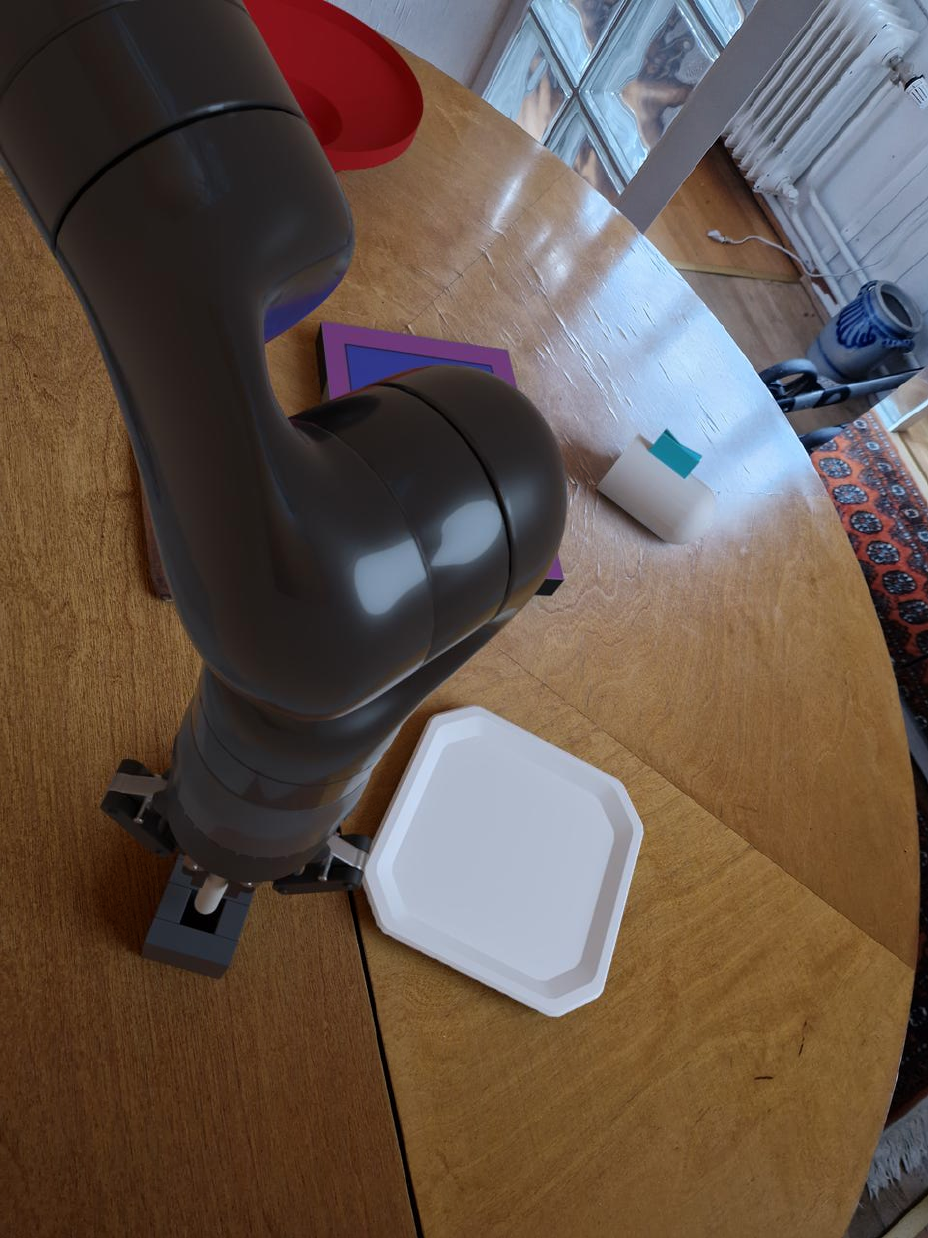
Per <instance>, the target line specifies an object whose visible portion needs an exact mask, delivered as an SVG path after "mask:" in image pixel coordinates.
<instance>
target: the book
mask: <svg viewBox="0 0 928 1238" xmlns="http://www.w3.org/2000/svg"><path fill="white" fill-rule="evenodd" d="M314 344H315V353H316V362H317V372H318V380H319V390H320V401H321V404H322V403H324V402H327V401H329V400H332V399H334V398H337V397H339V396H341V395H344V394H346V393H349V392H351V391H354V390H356V389H358V388H362V387H364V386H366V385H369V384H371V383H373V382H376V381H378V380H381V379H383V378H386V377H388V376H391V375H393V374H396V373H399V372H402V371H405V370H409V369H412V368H417V367H423V366H429V365H436V364H453V365H462V366H469V367H474V368H478V369H482V370H485V371H488V372H490V373H492V374H494V375H497V376H499V377H500V378H502V379H504V380H505V381H507V382H508V383H510V384H511V385H513V386H514V387H515V388H517V389H518V385H517V381H516V377H515V373H514V368H513V366H512V365H513V364H512V361H511V357H510V352H509V350H508V349H503V348H498V347H497V348H496V347H491V346H486V345H479V344H478V345H477V344H472V343H465V342H459V341H453V340H448V339H441V338H440V339H439V338H434V337H428V336H421V335H416V334H408V333H402V332H395V331H389V330H382V329H378V328H377V329H376V328H370V327H365V326H357V325H353V324H352V325H351V324H345V323H338V322H332V321H325V320H320V324H319V327H318V331H317V335H316V338H315V342H314ZM564 581H565V577H564V573H563V569H562V564H561V560H560V556H559V553H558V554H557V557H556V559H555V562H554V564H553V566H552V568H551V570H550V572H549V573H548V575H547V577H546V579H545V580H544V582H543V583H542V585H541V586H540V588H539V589H538V590H537V592H536V593H535V594H534V596H542V597H543V596H544V597H545V596H547V597H552V596H553V594H554V593H555V592H556V591H557V590H558V588H559V587H560V586H561V585H562V584H563V582H564Z"/></svg>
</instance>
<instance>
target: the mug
mask: <svg viewBox="0 0 928 1238" xmlns="http://www.w3.org/2000/svg"><path fill="white" fill-rule="evenodd" d="M702 458H703V455H702V454H700V453H699V452H696V451H695V450H692V449H691V448H689V447H687V446H686V445H684V444H682V443H681V442H680V441H679V440H678V438H676V436H675V435H674V434H673V433H672V432H671V431H670V430H669V428H668V427H666V428H665V429H664V431H663V432H662V433H661V435H660V436H659V437H658V438H657V439H656V441H655V442H654V443H652V441H649V440H648V439H647V438H646V437H645V436H643V435H642V434H641V433H637V434H636V436H634V438H633V439H632V441H631V442H630V443H629V444H628V446H627V447H626V448H625V450H623V452H622V453H621V454H620V455H619V457H618V458H617V460H616V461H615V462H614V464H613V465H612V466H611V467H610V468H609V470H608V471H607V473H606V474H605V475H604V477H603V478H602V479H601V480H600V482H599V483H598V484H597V486H596V490H598V491H599V492H600V493H601V494H603V495H604V496H606V497H607V498H608V499H610V500H611V501H612V502H613V503H615V504H616V505H617V506H619V507H620V508H621V509H622V510H623V511H625V512H626V513H627V514H629V515H630V516H632V517H633V518H634V519H635V520H637V521H638V522H639V523H641V524H642V525H643V526H645V527H646V528H647V529H648V530H650V531H651V532H652V533H654V534H655V535H656V536H657V537H658V538H660V539H661V540H662V541H664V542H666V543H668V544H671V545H676V546H679V545H686V544H690V543H693V542H695V541H696V540H698V539H699V538H701V537H702V536H703V535H705V534H706V533H707V531H708V530H709V529H710V527H711V526H712V524H713V522H714V521H715V518H716V515H717V499H716V498H717V497H716V496H715V493H714V491H713V489H711V487H710V486H709V485H707V484H706V483H705V482H703V481H702V480H701V479H699V478H698V477H697V476H695V475H694V474H693V473H692V472H693V470H694V469H695V468H696V467H697V466H698V464H700V460H701V459H702Z"/></svg>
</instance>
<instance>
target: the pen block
mask: <svg viewBox="0 0 928 1238" xmlns="http://www.w3.org/2000/svg"><path fill="white" fill-rule="evenodd" d="M183 859H184V856H183V855H181V854H180V853H178V856H177V858H176V861H175V863H174V866H173V868H172V871H171V873H170V876H169V877H168V881H167V883H166V886H165V888H164V890H163V893H162V896H161V899H160V901H159V904H158V905H157V908H156V912H155V913H154V916H153V919H152V921H151V924H150V927H149V928H148V932H147V934H146V936H145V939H144V942H143V946H142V950H141V955H140V958H143V959H145V960H146V959H147V960H150V961H154V962H157V963H160V964H164V965H168V966H171V967H174V968H178V969H181V970H186V971H188V972H191V973H196V974H199V975H202V976H205V977H209V978H213V979H216V980H222V978H223V977H224V975H225V974H226V972H227V971H228V970H229V968H230V966H231V964H232V961H233V959H234V955H235V952H236V950H237V947H238V944H239V940H240V937H241V934H242V931H243V928H244V925H245V923H246V920H247V916H248V914H249V912H250V911H249V910H250V907H251V904H252V901H253V898H254V895H255V892H256V890H257V888H255V890H254V891H253V893H249V894H247V893H243V892H240V893H239V895H238V897H237V899H235V898H232V897H228V896H225V892H224V894H223V896H222V898H221V899H220V901H219V903H218V905H217V907H216V909H215V910H214V911H213V912H211V913H209V914H208V915H213V916H216V920H215V924H214V925H213V929H212V931H211V933H210V932H207V931H205V930H201V929H196V928H194V927H190V926H186V925H183V924H180V923H181V920H182V918H183V915H184V912H185V910H186V908H189V909H193V910H196V908H195V899H196V896H197V894H198V892H199V889H200V888H199V887H196V886H192V885H190V883H191V881H192V878H193V877H191V876H188V875H185V874H183V872H182V871H181V870H182V867H183V864H182V862H183ZM226 889H227V888H226ZM225 891H226V890H225Z"/></svg>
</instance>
